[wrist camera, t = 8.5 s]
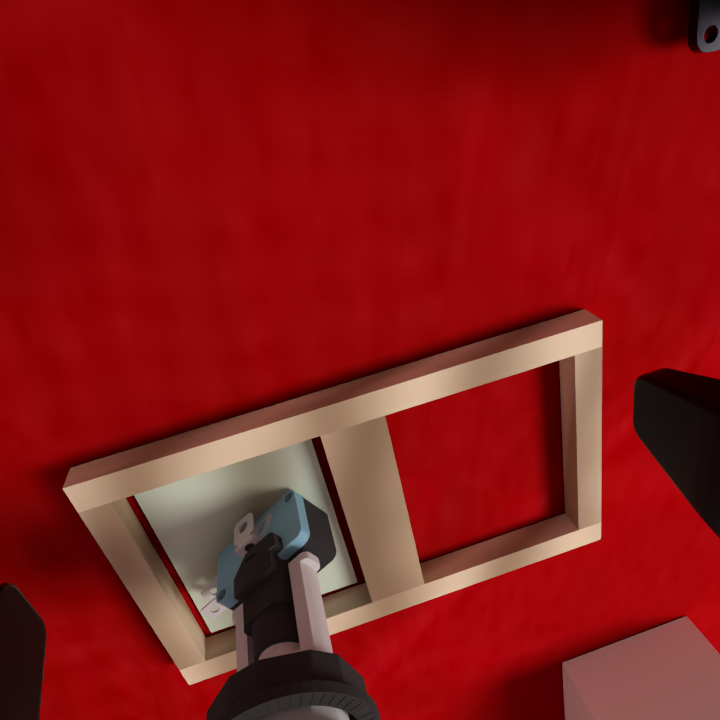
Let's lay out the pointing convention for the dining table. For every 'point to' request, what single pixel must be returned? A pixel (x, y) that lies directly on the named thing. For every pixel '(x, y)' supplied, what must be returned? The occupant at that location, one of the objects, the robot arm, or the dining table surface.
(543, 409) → the dining table surface
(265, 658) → the push button
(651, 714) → the crayon stand
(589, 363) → the wooden double frame
